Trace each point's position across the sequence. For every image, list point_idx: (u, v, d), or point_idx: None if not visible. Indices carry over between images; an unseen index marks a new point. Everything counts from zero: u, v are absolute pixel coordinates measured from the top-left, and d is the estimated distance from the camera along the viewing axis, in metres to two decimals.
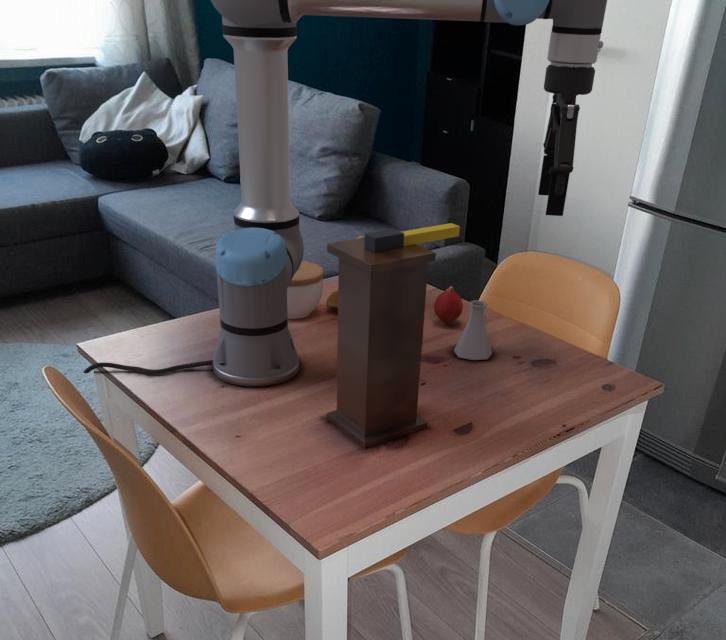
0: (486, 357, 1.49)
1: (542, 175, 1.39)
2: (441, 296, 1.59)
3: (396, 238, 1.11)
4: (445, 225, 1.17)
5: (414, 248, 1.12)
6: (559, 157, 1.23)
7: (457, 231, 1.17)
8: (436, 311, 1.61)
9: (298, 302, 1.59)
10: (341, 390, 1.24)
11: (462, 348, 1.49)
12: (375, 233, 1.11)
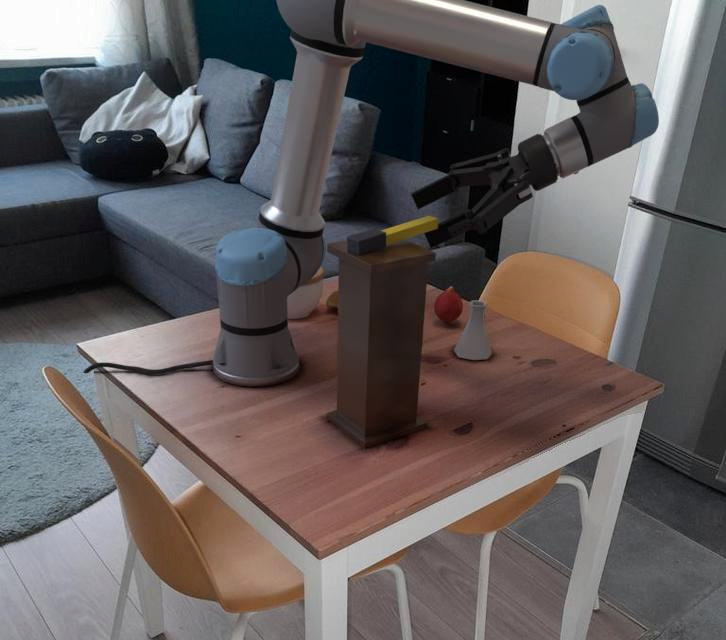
0: (486, 357, 1.49)
1: (430, 186, 1.27)
2: (441, 296, 1.59)
3: (379, 238, 1.10)
4: (423, 219, 1.16)
5: (414, 248, 1.12)
6: (487, 214, 1.14)
7: (436, 223, 1.16)
8: (436, 311, 1.61)
9: (298, 302, 1.59)
10: (341, 390, 1.24)
11: (462, 348, 1.49)
12: (357, 235, 1.09)
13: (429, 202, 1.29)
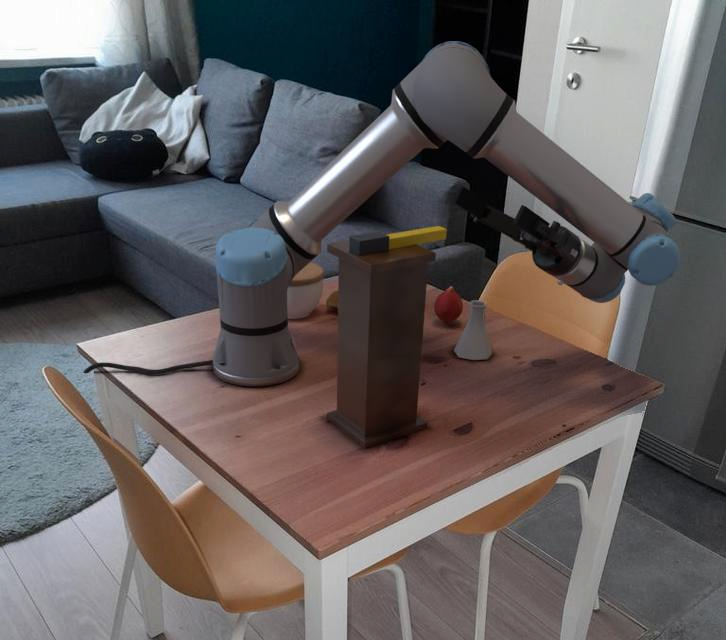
0: (486, 357, 1.49)
1: (475, 196, 1.26)
2: (441, 296, 1.59)
3: (381, 241, 1.09)
4: (432, 228, 1.15)
5: (414, 248, 1.12)
6: (570, 237, 1.19)
7: (444, 234, 1.16)
8: (436, 311, 1.61)
9: (298, 302, 1.59)
10: (341, 390, 1.24)
11: (462, 348, 1.49)
12: (360, 236, 1.09)
13: (464, 207, 1.25)
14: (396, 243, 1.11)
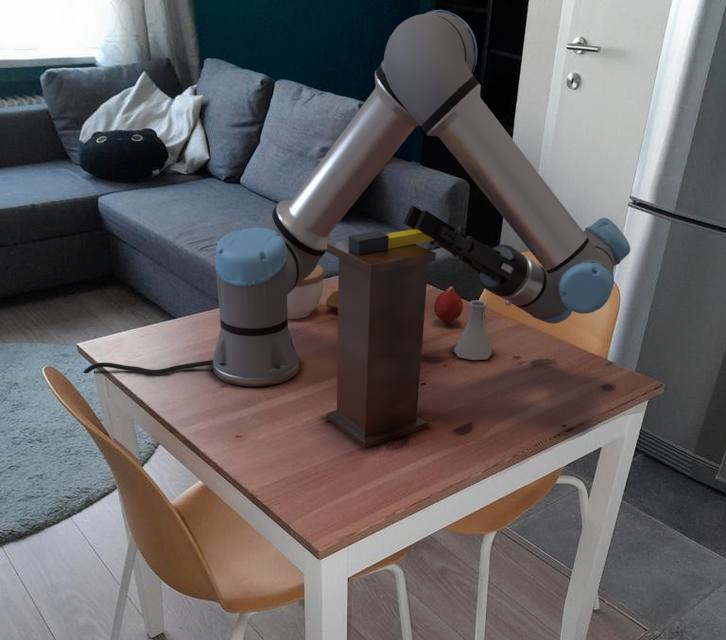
0: (486, 357, 1.49)
1: None
2: (441, 296, 1.59)
3: (381, 240, 1.10)
4: None
5: (414, 248, 1.12)
6: (479, 243, 1.15)
7: None
8: (436, 311, 1.61)
9: (298, 302, 1.59)
10: (341, 390, 1.24)
11: (462, 348, 1.49)
12: (359, 235, 1.09)
13: (416, 228, 1.15)
14: (395, 242, 1.11)
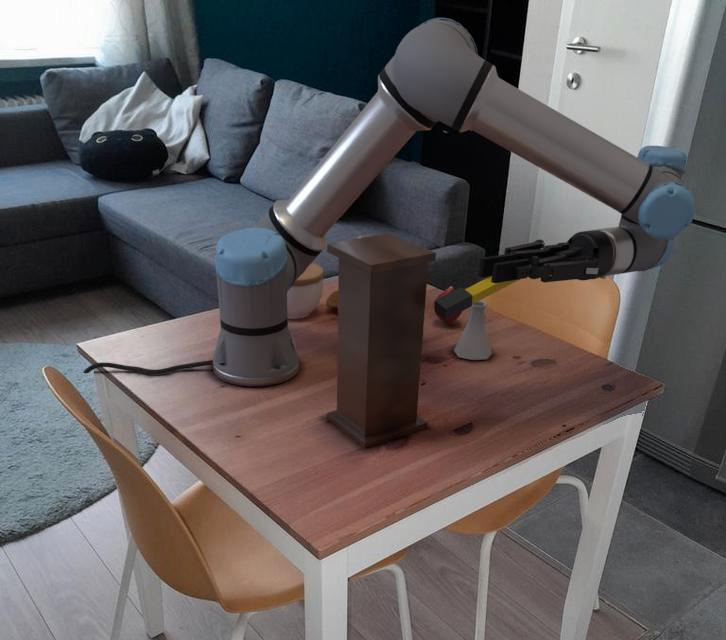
0: (486, 357, 1.49)
1: (500, 258, 1.18)
2: (441, 296, 1.59)
3: (465, 301, 1.14)
4: None
5: (414, 248, 1.12)
6: (557, 267, 1.17)
7: None
8: None
9: (298, 302, 1.59)
10: (341, 390, 1.24)
11: (462, 348, 1.49)
12: (444, 299, 1.14)
13: (492, 274, 1.18)
14: (478, 297, 1.16)
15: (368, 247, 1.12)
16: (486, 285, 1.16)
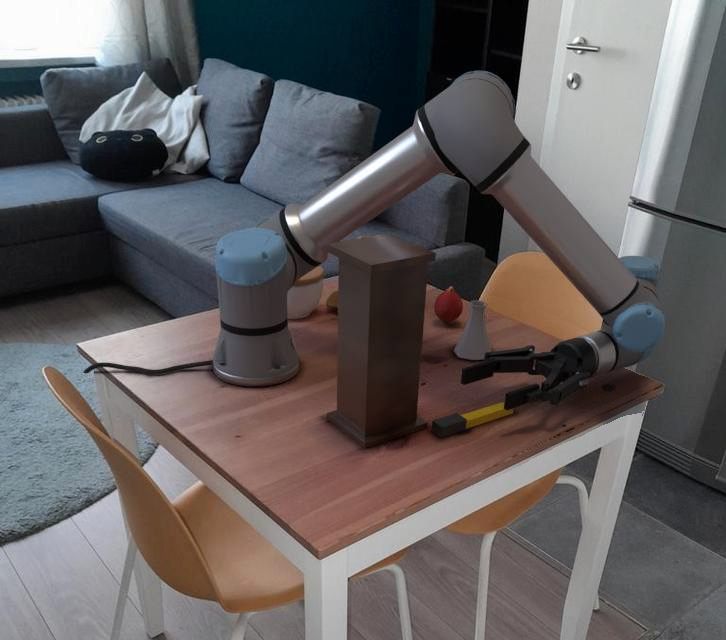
0: None
1: (480, 366, 1.30)
2: (441, 296, 1.59)
3: (460, 424, 1.25)
4: (501, 404, 1.31)
5: (414, 248, 1.12)
6: (564, 389, 1.24)
7: (512, 409, 1.31)
8: (436, 311, 1.61)
9: (298, 302, 1.59)
10: (341, 390, 1.24)
11: (462, 348, 1.49)
12: (441, 420, 1.25)
13: (473, 381, 1.31)
14: (472, 423, 1.27)
15: (368, 247, 1.12)
16: (479, 414, 1.28)
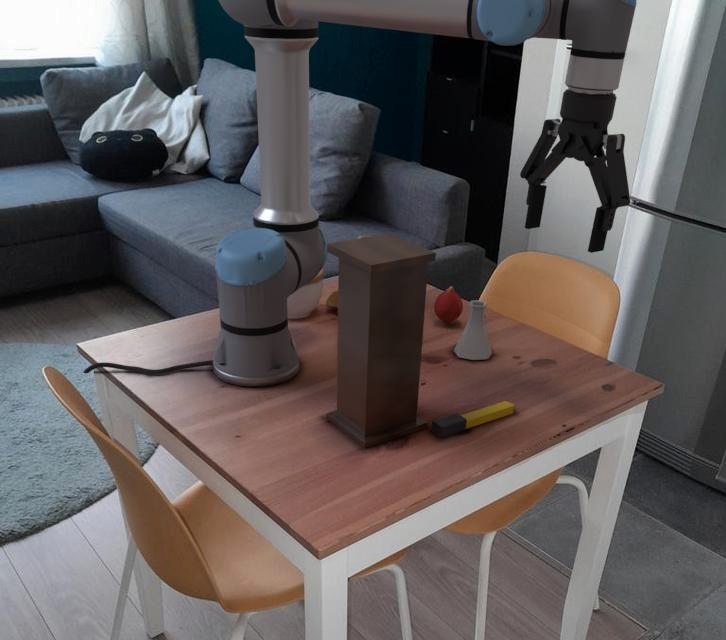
0: (486, 357, 1.49)
1: (532, 208, 1.28)
2: (441, 296, 1.59)
3: (460, 424, 1.25)
4: (501, 404, 1.31)
5: (414, 248, 1.12)
6: (619, 192, 1.14)
7: (512, 409, 1.31)
8: (436, 311, 1.61)
9: (298, 302, 1.59)
10: (341, 390, 1.24)
11: (462, 348, 1.49)
12: (441, 420, 1.25)
13: (541, 214, 1.29)
14: (472, 423, 1.27)
15: (368, 247, 1.12)
16: (479, 414, 1.28)
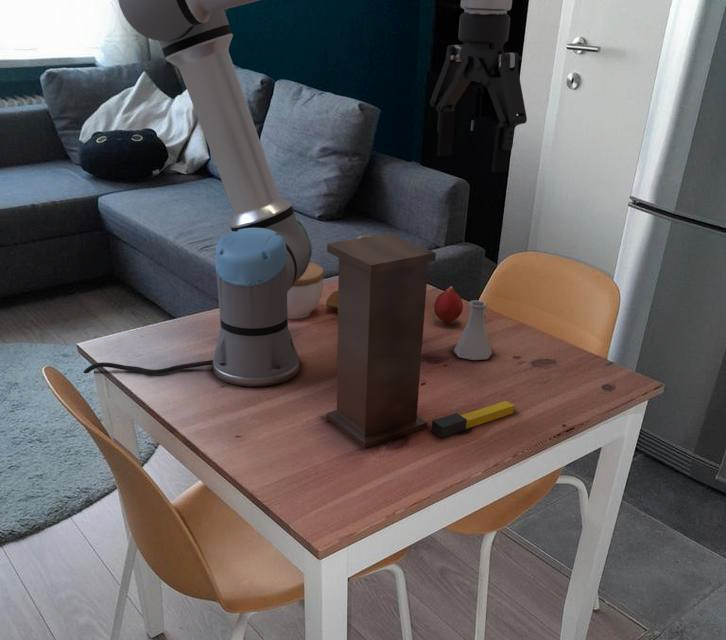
0: (486, 357, 1.49)
1: (441, 134, 1.32)
2: (441, 296, 1.59)
3: (460, 424, 1.25)
4: (501, 404, 1.31)
5: (414, 248, 1.12)
6: (514, 109, 1.18)
7: (512, 409, 1.31)
8: (436, 311, 1.61)
9: (298, 302, 1.59)
10: (341, 390, 1.24)
11: (462, 348, 1.49)
12: (441, 420, 1.25)
13: (452, 141, 1.34)
14: (472, 423, 1.27)
15: (368, 247, 1.12)
16: (479, 414, 1.28)
